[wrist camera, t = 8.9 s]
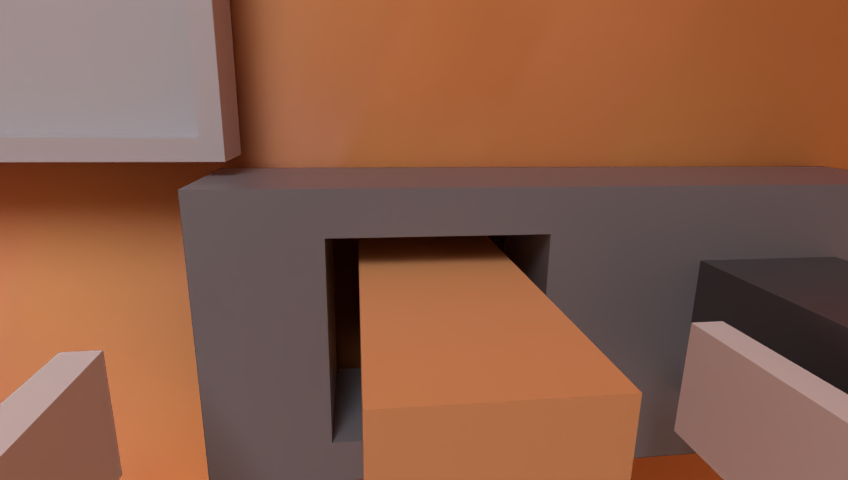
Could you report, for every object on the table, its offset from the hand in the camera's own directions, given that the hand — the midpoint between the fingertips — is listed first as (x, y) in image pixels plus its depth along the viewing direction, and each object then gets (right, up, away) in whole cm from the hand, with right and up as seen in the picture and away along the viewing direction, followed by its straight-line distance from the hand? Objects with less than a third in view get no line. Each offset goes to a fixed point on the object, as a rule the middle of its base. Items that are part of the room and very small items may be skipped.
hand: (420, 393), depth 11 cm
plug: (0, +2, +6) cm, 7 cm away
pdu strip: (+4, +2, +7) cm, 8 cm away
